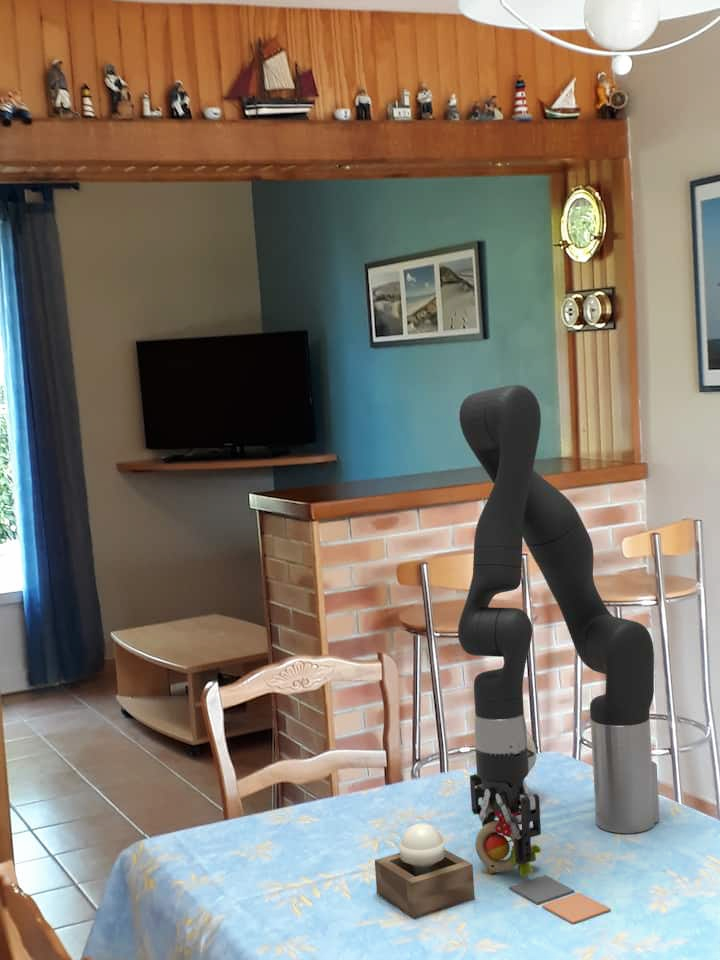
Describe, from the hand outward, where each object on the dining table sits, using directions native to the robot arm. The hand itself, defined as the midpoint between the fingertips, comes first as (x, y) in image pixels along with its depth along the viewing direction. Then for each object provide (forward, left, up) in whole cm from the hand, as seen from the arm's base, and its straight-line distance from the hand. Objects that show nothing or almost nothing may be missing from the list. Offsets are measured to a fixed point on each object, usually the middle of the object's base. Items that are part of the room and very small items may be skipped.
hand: (507, 853), depth 174 cm
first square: (0, +7, -3) cm, 8 cm away
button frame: (+14, -1, -3) cm, 14 cm away
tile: (0, +15, -3) cm, 15 cm away
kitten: (-18, -24, -3) cm, 30 cm away
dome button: (+14, -1, 0) cm, 14 cm away
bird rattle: (0, 0, -3) cm, 3 cm away
